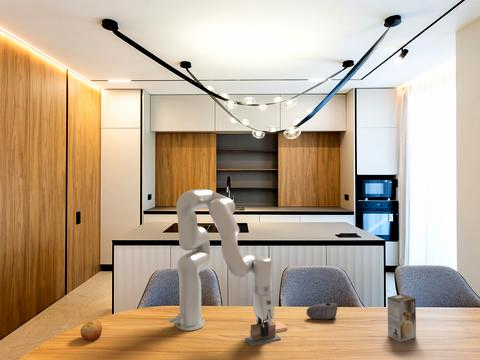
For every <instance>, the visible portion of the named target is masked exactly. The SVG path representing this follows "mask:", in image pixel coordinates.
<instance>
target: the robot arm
mask: <svg viewBox="0 0 480 360" xmlns="http://www.w3.org/2000/svg"><path fill="white" fill-rule="evenodd" d="M205 208H206V209H208V212H209V215H210V217H211V219H212V221H213V223H214V226H215V227H216V229H217V232H218V234H219V236H220V240H221V252H222V256H223V260H224V262H225V265H226V266H227V269H228V270H229V272H230V273H231V274H232V276H233V277H235V278H238V279H242V278H245V277H246V276H247V275H249V274H252V273H253V274H252V276H253V277H252V278H253V284H252V287H253V296H252V297H253V299H252V300H253V301H252V311H253V314H254V315H255V317H256V324H262V327H261V337H265V336H268V335H269V324H272V322H273V321H272V320H274V319H275V305H274V304H275V303H274V296H273V261H272V259H271V258H270V257H267V256H258V255H253V254H249V253H246V254H243V255H242V254H241V252H240V250H239V245H238V238H239V235H240V227H239V225H238V223H237V221H236V219H235V217H234V215H233V214H234V213H235V211H236V204H235V201H234V200H233V199H231V198H229V197H227V196H225V195H222V194H220V193H217V192H215V191H213V190H210V189H205V188H204V189H203V188H202V189H190V190H187V191H185V192H183V193H182V194H181V195H180V196H179V198H178V199H177V201H176V214H177V226H178V227H177V228H178V229H177V230H178V242H179V246H180V248H181V249H182V250H184V251H190V252H188V253H185V254H183V255H182V256H181V257H180V258H179V259H178V260H177V261H178V262H177V264H176V266H177V267H176V268H177V274H178V282H179V283H178V284H179V313H177V315H176V316H175V317H169V318H168V323H169V324H171V323H172V324H173V325H175V327H176V328H177V329H178V330H180V331H186V332H187V331H196V330H200V329H201V328H203V327H204V326H205V324H206V322H205V319H204V318H203V317H202V280H201V277H200V275H199V273H200V272H202V271H204V270H205V269H207V268H208V267H209V266H210V264H211V248H210V245H211V244H210V236H209V233H208V230H207V229H205V228H204V227H203V226H199V225H198V217H197V214H196V212H195V210H199V209H205Z"/></svg>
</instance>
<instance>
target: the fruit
mask: <svg viewBox="0 0 480 360" xmlns="http://www.w3.org/2000/svg"><path fill="white" fill-rule="evenodd" d="M102 330H103V325H102V323H101V321H100V320H97V319H91V320H88V321H86V322H85V323H84V324H83V325H82V326H81V328H80V336H81V337H82V339H83V340H84V341H93V342H94V341H96V340H98V339H99V338H101V335H102Z"/></svg>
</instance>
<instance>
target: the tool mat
mask: <svg viewBox="0 0 480 360" xmlns="http://www.w3.org/2000/svg"><path fill="white" fill-rule="evenodd" d="M244 340H245V341H246V343H248V344H249V346H251V347H256V346H260V345H264V344H267V343H271V342H272V343H273V342H277V341H281V337H280V336H279V335H278V334H276V333H275V337H272V338H265V339H258V340H252V339H251V338H250V336H248V337H245V338H244Z"/></svg>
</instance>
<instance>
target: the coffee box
mask: <svg viewBox="0 0 480 360" xmlns="http://www.w3.org/2000/svg"><path fill="white" fill-rule="evenodd" d="M416 300H417V299H416V298H415V297H412V296H410V295H407V294H403V293H402V294H401V293H400V294H397V295H396V294H395V295H392V296H388V297H387V336H388V337H390V338H391V339H393V340H396V341H397V342H400V343H402V342H406V341H409V340H412V339H415V338H417V321H416V320H417V316H416V314H417V313H416V311H417V310H416V309H417V306H416V304H417V302H416Z"/></svg>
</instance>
